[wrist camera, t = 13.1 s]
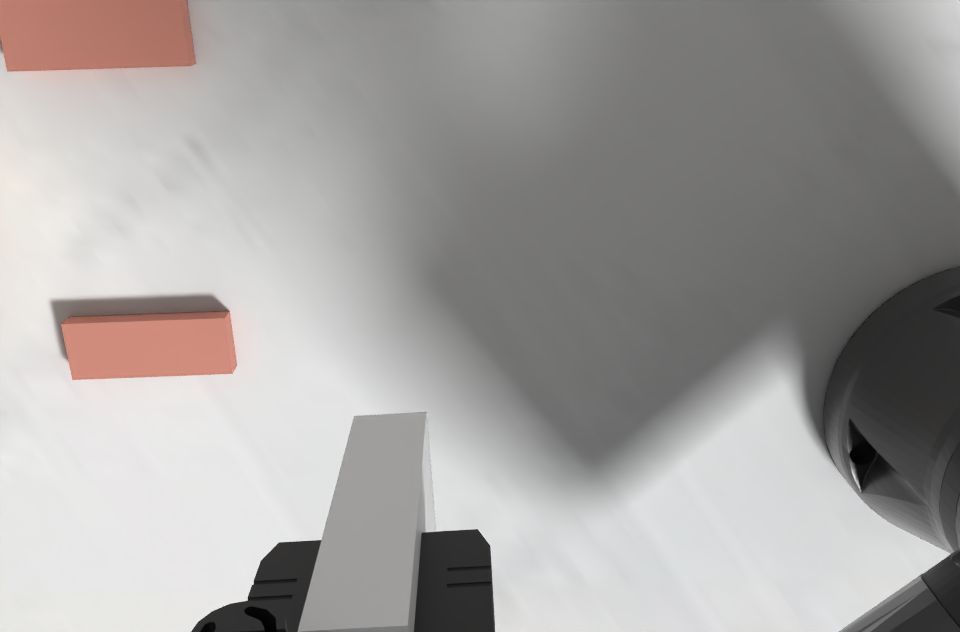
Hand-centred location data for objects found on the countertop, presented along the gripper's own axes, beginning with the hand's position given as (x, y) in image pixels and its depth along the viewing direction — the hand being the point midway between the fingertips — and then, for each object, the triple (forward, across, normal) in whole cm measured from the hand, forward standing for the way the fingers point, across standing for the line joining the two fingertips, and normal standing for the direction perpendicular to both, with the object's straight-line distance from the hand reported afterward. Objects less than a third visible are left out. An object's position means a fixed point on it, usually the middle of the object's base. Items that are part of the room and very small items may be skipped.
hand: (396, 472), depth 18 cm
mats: (+25, +14, -1) cm, 29 cm away
